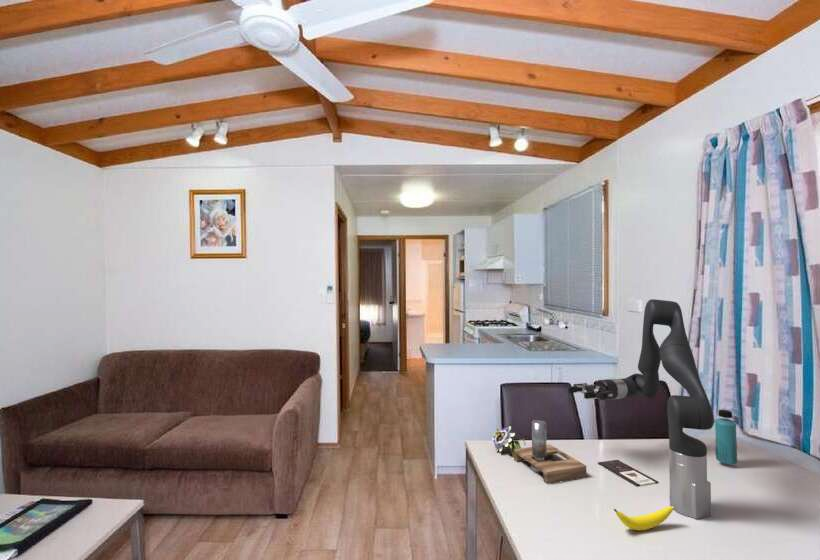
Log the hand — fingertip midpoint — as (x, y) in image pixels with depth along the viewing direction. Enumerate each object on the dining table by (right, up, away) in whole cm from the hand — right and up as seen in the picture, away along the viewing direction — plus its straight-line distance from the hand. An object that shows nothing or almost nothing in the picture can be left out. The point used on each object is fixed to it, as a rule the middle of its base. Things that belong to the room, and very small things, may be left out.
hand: (576, 392), depth 151 cm
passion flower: (-23, -27, +13) cm, 37 cm away
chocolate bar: (+15, -27, -6) cm, 32 cm away
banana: (+2, -26, -40) cm, 48 cm away
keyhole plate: (-11, -27, -3) cm, 29 cm away
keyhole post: (-15, -27, -4) cm, 31 cm away
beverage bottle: (+55, -27, 0) cm, 61 cm away
